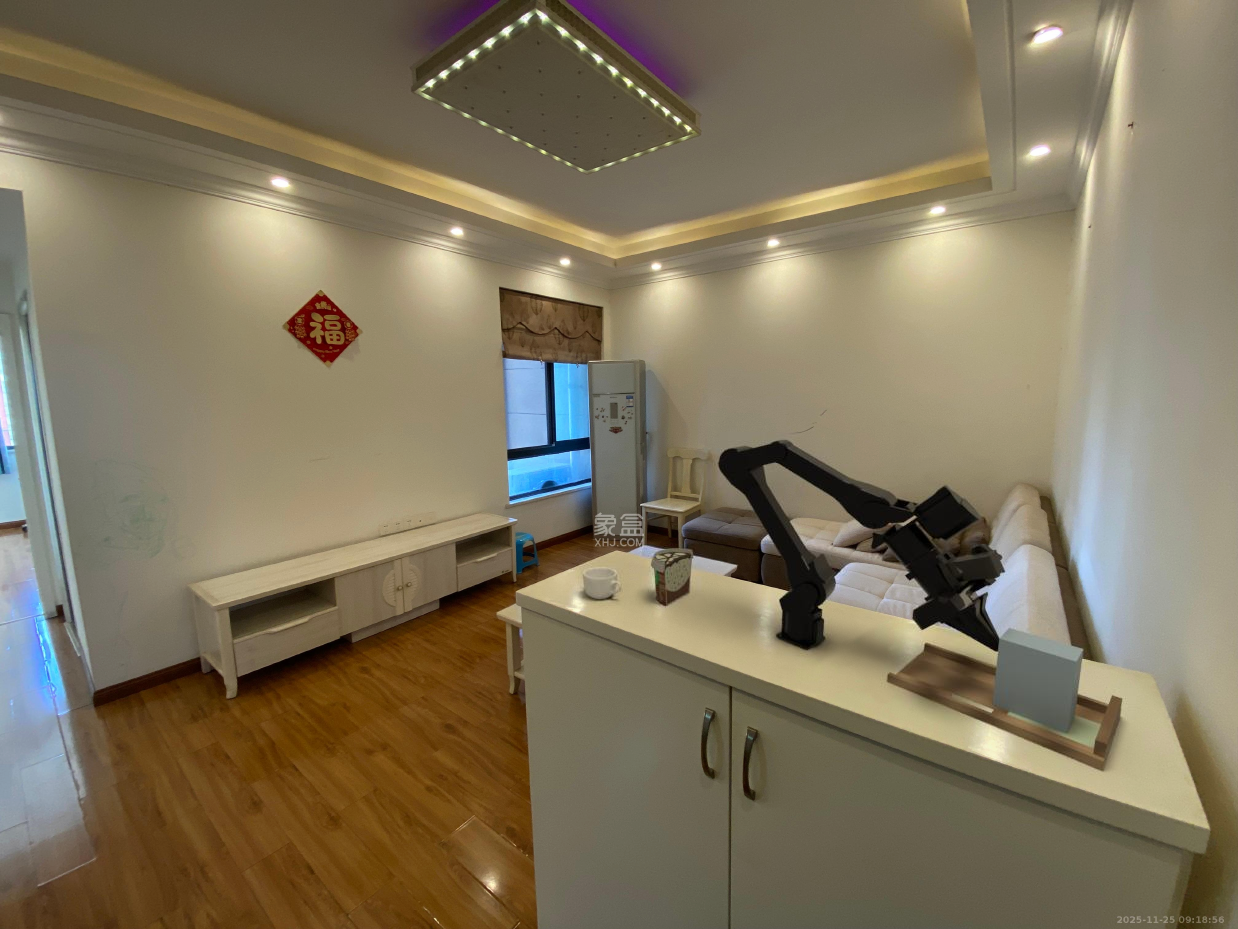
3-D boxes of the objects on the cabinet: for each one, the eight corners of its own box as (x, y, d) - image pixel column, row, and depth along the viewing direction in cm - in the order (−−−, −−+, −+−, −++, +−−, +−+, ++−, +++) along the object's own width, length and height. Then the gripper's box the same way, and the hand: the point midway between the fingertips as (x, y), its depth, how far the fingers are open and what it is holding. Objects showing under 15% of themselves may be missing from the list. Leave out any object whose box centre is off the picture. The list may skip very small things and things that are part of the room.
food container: (670, 585, 119) (671, 544, 117) (692, 591, 115) (693, 549, 113) (639, 601, 109) (639, 557, 108) (662, 608, 105) (663, 563, 104)
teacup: (575, 596, 112) (575, 573, 111) (598, 586, 118) (598, 564, 117) (609, 608, 106) (609, 583, 105) (631, 596, 112) (631, 573, 111)
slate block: (992, 705, 70) (999, 638, 69) (1002, 691, 74) (1009, 628, 72) (1067, 734, 64) (1076, 661, 63) (1074, 718, 68) (1083, 649, 66)
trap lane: (886, 687, 76) (888, 663, 76) (925, 654, 86) (927, 632, 86) (1101, 778, 58) (1105, 747, 58) (1119, 723, 68) (1123, 696, 67)
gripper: (943, 540, 67) (1040, 648, 60) (985, 519, 79) (1069, 607, 72) (879, 580, 74) (959, 681, 67) (926, 555, 86) (998, 638, 79)
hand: (1000, 649), depth 71 cm, fingers closed
